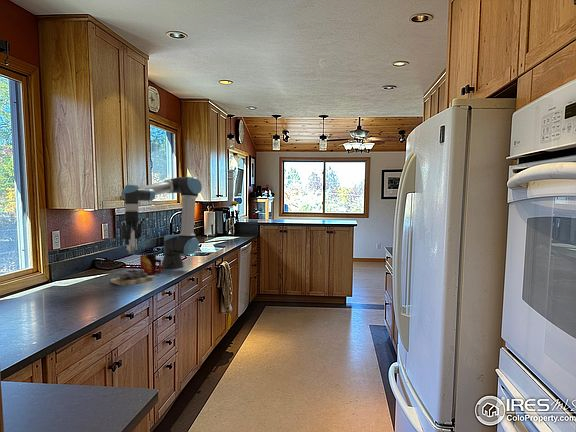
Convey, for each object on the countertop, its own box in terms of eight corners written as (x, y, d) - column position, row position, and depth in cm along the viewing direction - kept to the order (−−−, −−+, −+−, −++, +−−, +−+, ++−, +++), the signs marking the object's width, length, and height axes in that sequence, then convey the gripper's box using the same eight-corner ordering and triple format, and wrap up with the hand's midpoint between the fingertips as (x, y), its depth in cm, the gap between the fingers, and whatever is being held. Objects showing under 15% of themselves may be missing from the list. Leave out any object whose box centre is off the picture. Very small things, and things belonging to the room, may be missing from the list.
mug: (160, 275, 249) (160, 256, 248) (138, 275, 247) (138, 257, 247) (163, 272, 259) (163, 254, 258) (142, 272, 257) (142, 254, 256)
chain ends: (139, 276, 243) (139, 267, 243) (152, 280, 235) (152, 270, 235) (110, 282, 227) (110, 272, 227) (124, 286, 219) (124, 275, 219)
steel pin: (132, 252, 233) (132, 229, 232) (136, 253, 231) (136, 230, 230) (127, 253, 230) (127, 230, 229) (131, 253, 228) (130, 230, 227)
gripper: (140, 210, 237) (140, 247, 239) (115, 211, 224) (115, 250, 225) (147, 210, 233) (147, 248, 235) (122, 211, 220) (122, 252, 221)
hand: (131, 249), depth 230 cm, fingers closed on steel pin, 3 cm apart
